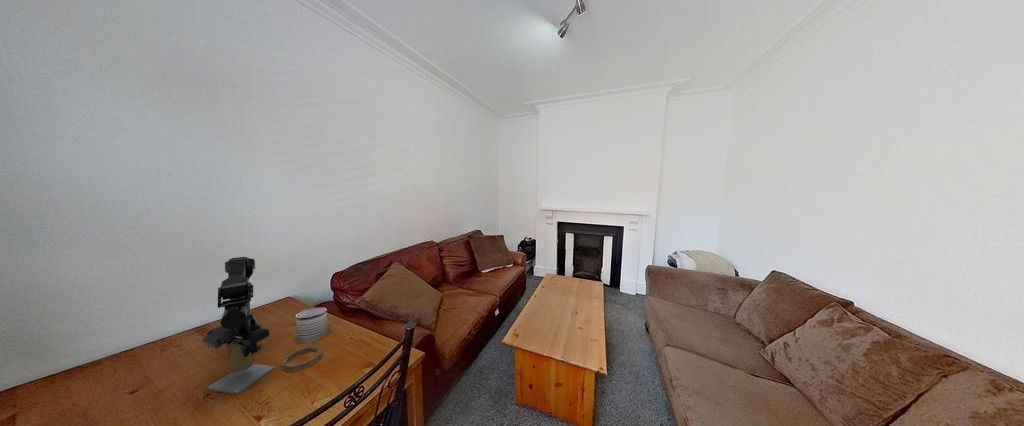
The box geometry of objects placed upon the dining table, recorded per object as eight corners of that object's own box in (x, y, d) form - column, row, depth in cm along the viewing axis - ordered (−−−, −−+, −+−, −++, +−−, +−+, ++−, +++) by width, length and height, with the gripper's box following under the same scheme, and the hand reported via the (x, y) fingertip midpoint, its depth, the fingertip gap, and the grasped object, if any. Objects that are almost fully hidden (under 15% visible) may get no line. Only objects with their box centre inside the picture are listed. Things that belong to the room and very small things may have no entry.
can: (291, 344, 111) (289, 318, 109) (305, 329, 122) (304, 306, 120) (320, 341, 113) (319, 316, 112) (331, 327, 124) (331, 304, 123)
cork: (237, 374, 87) (234, 345, 86) (224, 371, 88) (222, 342, 87) (258, 362, 93) (256, 335, 92) (245, 359, 94) (243, 332, 93)
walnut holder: (273, 368, 96) (273, 364, 96) (303, 348, 108) (303, 344, 108) (301, 373, 95) (301, 368, 94) (329, 351, 107) (329, 347, 107)
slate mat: (207, 389, 86) (207, 386, 86) (248, 364, 98) (247, 362, 98) (236, 394, 84) (236, 391, 84) (274, 368, 96) (274, 366, 96)
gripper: (183, 324, 81) (188, 368, 83) (231, 331, 79) (235, 375, 81) (226, 308, 92) (229, 346, 94) (269, 313, 90) (272, 353, 92)
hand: (241, 355), depth 90 cm, fingers closed on cork, 4 cm apart
